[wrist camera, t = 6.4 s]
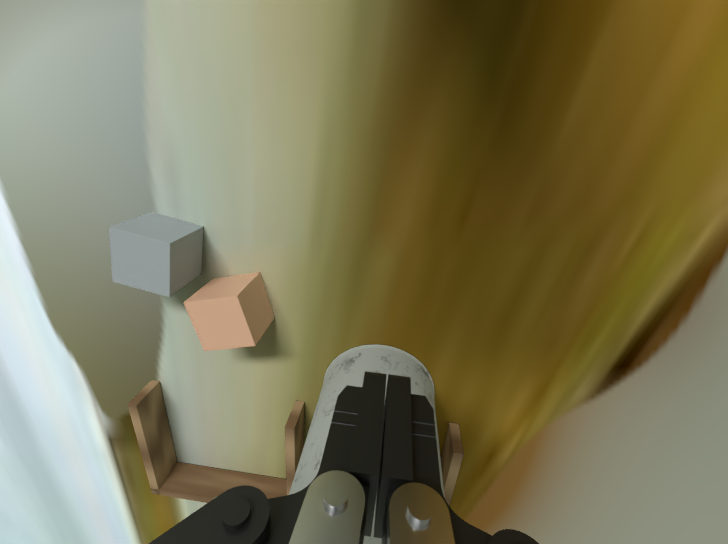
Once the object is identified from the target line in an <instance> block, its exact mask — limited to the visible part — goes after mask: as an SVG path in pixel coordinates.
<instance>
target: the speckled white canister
mask: <svg viewBox="0 0 728 544" xmlns="http://www.w3.org/2000/svg"><path fill="white" fill-rule="evenodd" d="M365 371H368V372H375V373H383V374H387V375H386V388H387V380H388V374H391V375H398V376H406V377H410V378H411V394H416V395H423V396H426V398H427V399H428V401H429V403H430V404H431V406H432V408H433V411H434V421H435V431H436V440H437V450H438V460H439V470H440V480H441V488H442V492H443V495H444V487H443V477H442V468H441V458H440V449H439V440H438V430H437V421H436V411H435V402H434V396H435V392H434V383H433V380H432V378H431V375H430V373H429V372H428V370H427V369H426V368H425V366H424V365H423V364H422V363H421V362H420V361H419V360H418V359H416V358H415V357H414V356H413V355H411V354H409V353H407V352H405V351H404V350H401V349H398V348H395V347H392V346H387V345H379V344H372V345H362V346H358V347H354V348H351V349H349V350H347V351H345V352H343V353H341V354H340V355H339V356H338V357H337V358H336V359H334V360H333V361H332V363H331V364H330V366H329V367H328V369H327V371H326V374H325V377H324V382H323V387H322V390H321V393H320V396H319V400H318V403H317V406H316V409H315V412H314V416H313V419H312V422H311V425H310V428H309V432H308V435H307V438H306V441H305V444H304V448H303V451H302V454H301V457H300V460H299V464H298V467H297V470H296V473H295V476H294V480H293V483H292V486H291V489H290V492H289V495H290V494H294V493H296V492H299V491H301V490H302V489H304V488H305V487H307V486H308V485H309V484H310V483H311V482H312V481H313V480H314V478H315V477H316V475H317V473H318V471H319V468H320V464H321V460H322V456H323V452H324V448H325V444H326V441H327V437H328V433H329V429H330V425H331V421H332V417H333V413H334V409H335V405H336V401H337V397H338V395H339V394H340V393H341V392H342V390H343V389H344V388H345V387H346V386H347V385H349V386H356V387H362V386H363V380H364V374H365ZM385 396H386V389H385ZM384 404H385V403H384ZM376 498H377V495H376ZM444 498H445V496H444ZM375 511H376V502H375V510H374V517H373V525H372V532H371V537H369V536H364V541H363V544H381V542H382V538H376V537H373V536H374V523H375Z"/></svg>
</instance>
